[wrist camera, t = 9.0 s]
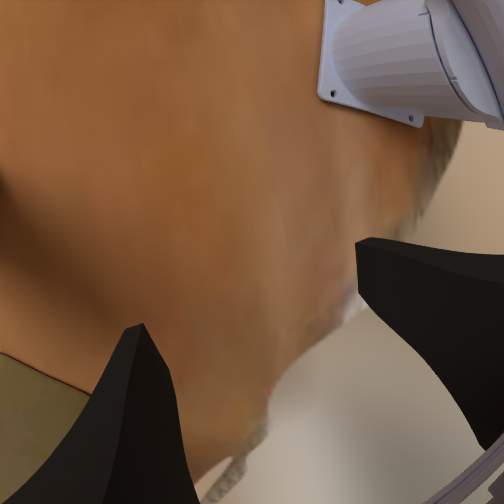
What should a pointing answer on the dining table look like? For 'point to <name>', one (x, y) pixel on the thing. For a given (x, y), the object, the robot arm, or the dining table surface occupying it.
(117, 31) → the dining table surface
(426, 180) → the dining table surface
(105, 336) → the dining table surface
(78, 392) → the cheese
